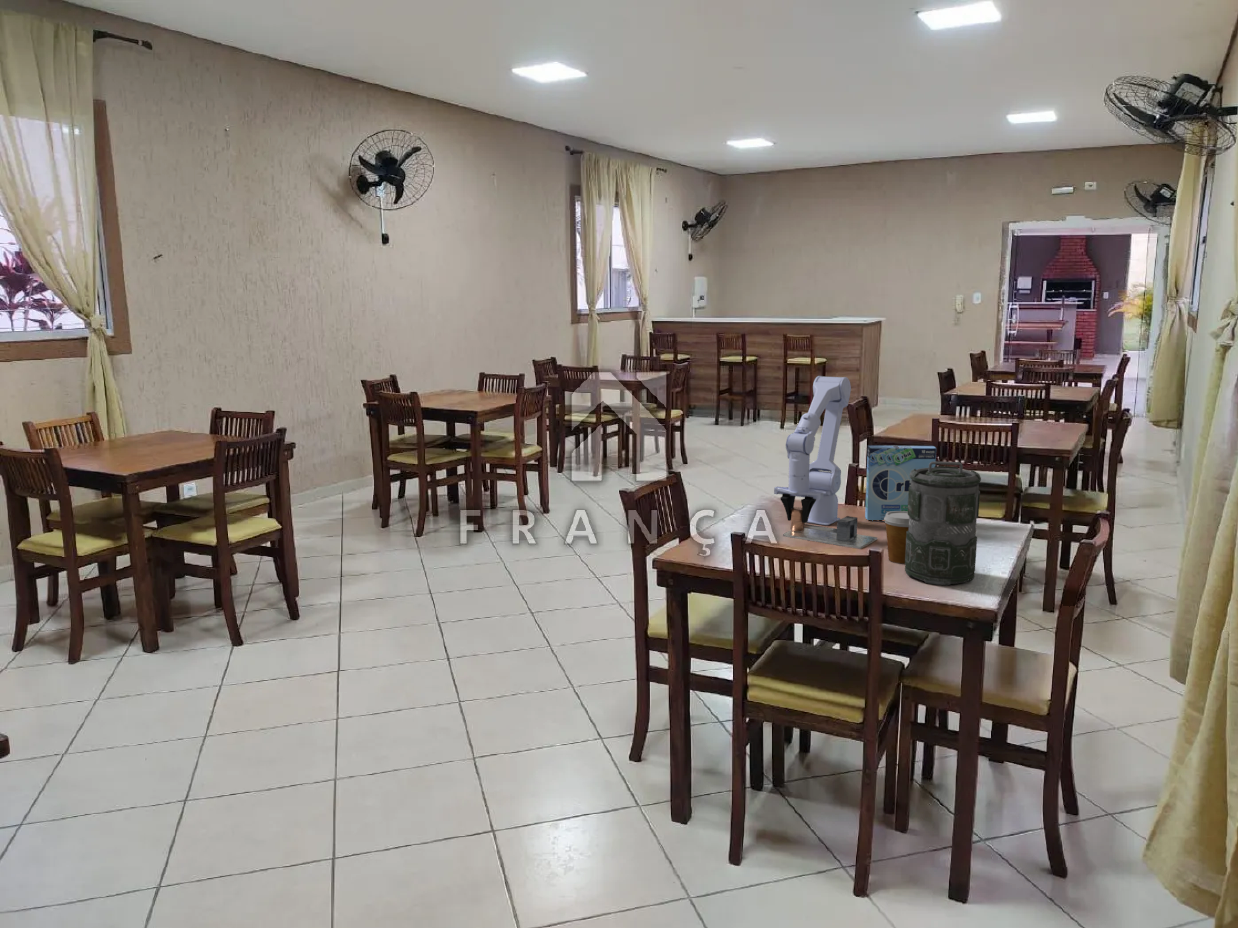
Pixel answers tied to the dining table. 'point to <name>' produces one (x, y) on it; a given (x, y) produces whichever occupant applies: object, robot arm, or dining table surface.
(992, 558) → the dining table surface
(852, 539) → the grey plate
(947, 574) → the canister
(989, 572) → the dining table surface
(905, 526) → the disposable coffee cup
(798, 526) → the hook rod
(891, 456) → the gum box
